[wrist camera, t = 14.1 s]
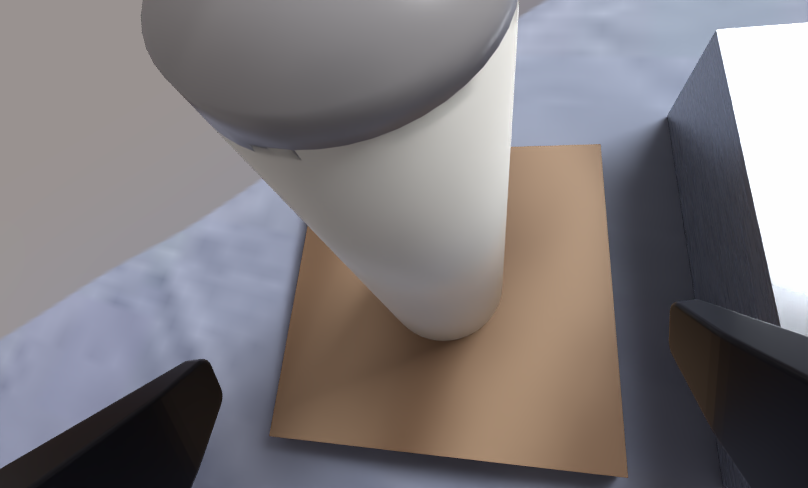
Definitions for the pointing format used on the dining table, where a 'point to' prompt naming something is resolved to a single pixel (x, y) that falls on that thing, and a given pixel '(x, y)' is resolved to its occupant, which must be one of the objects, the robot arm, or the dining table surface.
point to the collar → (747, 178)
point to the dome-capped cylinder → (367, 131)
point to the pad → (475, 343)
